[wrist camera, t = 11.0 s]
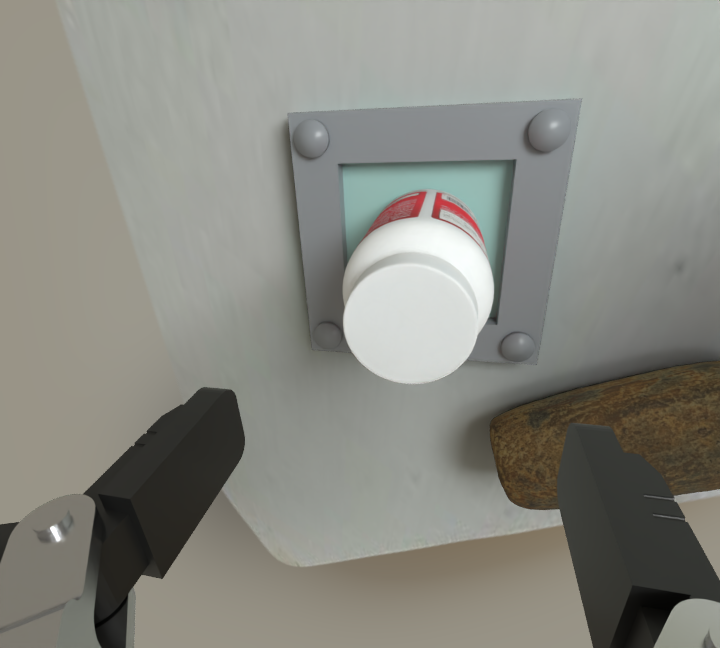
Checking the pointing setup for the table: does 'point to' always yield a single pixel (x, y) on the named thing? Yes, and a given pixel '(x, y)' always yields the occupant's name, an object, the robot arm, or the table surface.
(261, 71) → the table surface
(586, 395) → the brown textured cylinder
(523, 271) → the base plate
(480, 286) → the pill bottle
